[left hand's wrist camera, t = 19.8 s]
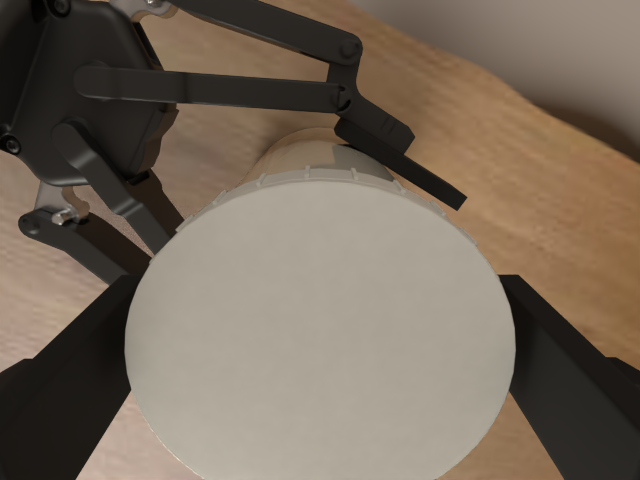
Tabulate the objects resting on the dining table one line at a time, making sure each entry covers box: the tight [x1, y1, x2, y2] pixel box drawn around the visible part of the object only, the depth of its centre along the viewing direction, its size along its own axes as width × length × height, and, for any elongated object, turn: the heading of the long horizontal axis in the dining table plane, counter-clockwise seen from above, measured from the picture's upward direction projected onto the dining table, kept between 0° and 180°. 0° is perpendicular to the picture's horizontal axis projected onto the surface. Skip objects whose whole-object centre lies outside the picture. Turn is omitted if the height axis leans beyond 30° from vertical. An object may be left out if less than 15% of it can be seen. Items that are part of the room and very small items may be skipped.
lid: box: [125, 166, 516, 480], centre depth 11 cm, size 10×10×2 cm
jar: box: [236, 128, 404, 188], centre depth 19 cm, size 9×9×16 cm
